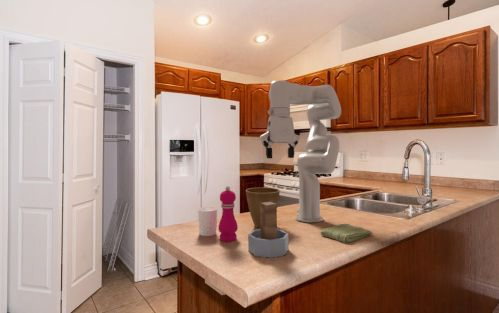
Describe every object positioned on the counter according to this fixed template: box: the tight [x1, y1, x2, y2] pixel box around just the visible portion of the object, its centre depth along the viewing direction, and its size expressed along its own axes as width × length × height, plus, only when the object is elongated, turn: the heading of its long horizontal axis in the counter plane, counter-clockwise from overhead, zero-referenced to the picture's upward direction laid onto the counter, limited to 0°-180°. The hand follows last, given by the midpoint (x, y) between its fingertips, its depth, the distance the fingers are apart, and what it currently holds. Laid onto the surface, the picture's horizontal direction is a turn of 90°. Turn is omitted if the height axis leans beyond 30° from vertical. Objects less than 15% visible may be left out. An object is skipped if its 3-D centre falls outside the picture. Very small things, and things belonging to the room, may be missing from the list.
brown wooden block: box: [259, 202, 278, 240], centre depth 94 cm, size 4×4×15 cm
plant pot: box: [245, 186, 281, 229], centre depth 124 cm, size 15×15×16 cm
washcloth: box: [320, 223, 373, 244], centre depth 110 cm, size 13×18×3 cm
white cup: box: [197, 206, 218, 237], centre depth 113 cm, size 8×8×10 cm
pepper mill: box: [218, 185, 239, 243], centre depth 106 cm, size 7×7×20 cm
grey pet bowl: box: [247, 228, 290, 259], centre depth 94 cm, size 12×12×6 cm
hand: (280, 158), depth 110 cm, fingers open, 9 cm apart
